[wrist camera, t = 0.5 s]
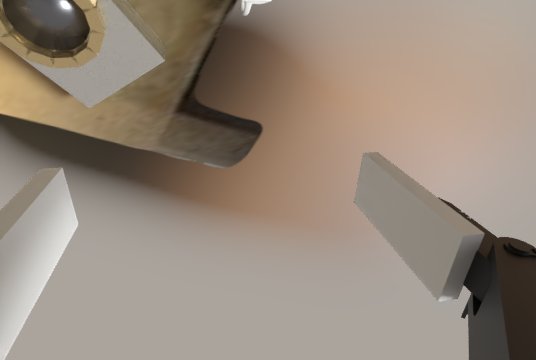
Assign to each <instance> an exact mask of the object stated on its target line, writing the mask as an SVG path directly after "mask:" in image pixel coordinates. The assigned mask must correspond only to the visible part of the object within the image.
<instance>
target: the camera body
mask: <svg viewBox="0 0 536 360" xmlns="http://www.w3.org/2000/svg"><path fill="white" fill-rule="evenodd" d="M0 42H1V43H3V44H4V45H5V46H7V47H8V48H9V49H11V50H12V51H13V52H15V53H16V54H17V55H19V56H20V57H21V58H23V59H24V60H25V61H27V62H28V63H29V64H31V65H32V66H33V67H35V68H36V69H37V70H39V71H40V72H41V73H43V74H44V75H45V76H47V77H48V78H49V79H51V80H52V81H54V82H55V83H56V84H58V85H59V86H60V87H62V88H63V89H64V90H66V91H67V92H68V93H70V94H71V95H72V96H74V97H75V98H76V99H78V100H79V101H80V102H82V103H83V104H84V105H86V106H87V107H88V108H91V107H92V106H94V105H96V104H97V103H99V102H100V101H102V100H104V99H105V98H107V97H108V96H110V95H111V94H113V93H115V92H116V91H118V90H119V89H121V88H123V87H124V86H126V85H127V84H129V83H130V82H132V81H134V80H135V79H137V78H138V77H140V76H142V75H143V74H145V73H146V72H148V71H149V70H151V69H153V68H154V67H156V66H157V65H159V64H161V63H162V62H164V61H165V52H164V43H163V41H162V40H161V39H160V38H159V37H158V35H157V34H156V33H155V32H154V31H153V30H152V28H151V27H150V26H149V25H148V24H147V22H146V21H145V20H144V19H143V18H142V17H141V15H140V14H139V13H138V12H137V11H136V10H135V8H134V7H133V6H132V5H131V4H130V2H129V1H128V0H0Z"/></svg>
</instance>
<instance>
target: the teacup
mask: <svg viewBox="0 0 536 360" xmlns="http://www.w3.org/2000/svg"><path fill="white" fill-rule="evenodd" d="M269 1H272V0H241V13H242V15H245V16H247V15H248V13H249V11H250V8H251V5H252V3H253V4H262V3H266V2H269Z"/></svg>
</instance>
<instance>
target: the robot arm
mask: <svg viewBox="0 0 536 360" xmlns="http://www.w3.org/2000/svg"><path fill="white" fill-rule="evenodd" d="M354 203H355V204H356V205H357V206H358V207H359V208H360V210H361V211H362V212H363V213H364V214H365V216H366V217H367V218H368V219H369V220H370V221H371V223H372V224H373V225H374V226H375V227H376V229H377V230H378V231H379V232H380V233H381V234H382V235H383V237H384V238H385V239H386V240H387V242H388V243H389V244H390V245H391V246H392V247H393V248H394V250H395V251H396V252H397V253H398V254H399V256H400V257H401V258H402V259H403V260H404V261H405V263H406V264H407V265H408V266H409V267H410V268H411V270H412V271H413V272H414V273H415V275H416V276H417V277H418V278H419V279H420V280H421V281H422V283H423V284H424V285H425V286H426V287H427V289H428V290H429V291H430V292H431V293H432V295H433V296H434V297H435V298H436V299H437V300H438V301H445V300H451V299H458V297H459V294H460V292H461V290H462V287H463V285H464V286H466V288H467V289H468V290H469V291H470V292H471V295H470V298H469V300H468V302H467V304H466V307H465V309H464V311H463V313H462V316H461V317H462V318H465V317H466V315H467V314H468V327H469V360H536V248H535V247H534V246H532V245H530V244H527V243H526V242H524V241H520V240H518V239H514V238H509V237H499V238H497V237H496V236H495V235H493V234H492V233H491V232H489V231H488V230H486V229H485V228H483V227H482V226H481V225H480V224H478V223H477V222H476V221H474V220H473V219H472V218H471V219H470V218H469V216H468V215H466V214H465V213H462V212H461V210H459V209H458V208H457V207H455V206H454V205H453V204H451V203H449V202H447V201H445V200H443V199H440V198H437V197H436V196H435V195H433V194H432V193H431V192H429V191H428V190H427V189H425V188H424V187H423V186H421V185H420V184H419V183H418V182H416V181H415V180H414V179H412V178H411V177H410V176H408V175H407V174H405V173H404V172H403V171H402V170H400V169H399V168H398V167H396V166H395V165H394V164H392V163H391V162H390V161H388V160H387V159H386V158H384V157H383V156H382V155H380V154H379V153H378V152H373V153H363V155H362V162H361V167H360V172H359V178H358V183H357V189H356V195H355V201H354ZM77 226H78V221H77V218H76V214H75V211H74V207H73V204H72V200H71V196H70V193H69V190H68V186H67V182H66V179H65V175H64V172H63V168H47V169H40V171H39V172H38V173H37V174H36V175H35V176H34V177H33V178H32V179H31V180H30V181H29V182H28V183H27V184H26V185H25V186H24V187H23V188H22V189H21V190H20V191H19V192H18V193H17V194H16V195H15V196H14V197H13V198H12V199H11V200H10V201H9V202H8V203H7V204H6V205H5V206H4V207H3V208H2V209H1V210H0V360H4V359H5V357H6V356H7V354H8V352H9V350H10V348H11V346H12V345H13V343H14V341H15V339H16V337H17V335H18V334H19V332H20V330H21V328H22V326H23V325H24V323H25V321H26V319H27V317H28V316H29V314H30V312H31V310H32V308H33V306H34V304H35V303H36V301H37V299H38V297H39V295H40V293H41V292H42V290H43V288H44V286H45V284H46V283H47V281H48V279H49V277H50V275H51V274H52V272H53V270H54V268H55V266H56V264H57V262H58V261H59V259H60V257H61V255H62V253H63V252H64V250H65V248H66V246H67V244H68V243H69V240H70V239H71V237H72V235H73V233H74V232H75V230H76V228H77Z"/></svg>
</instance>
